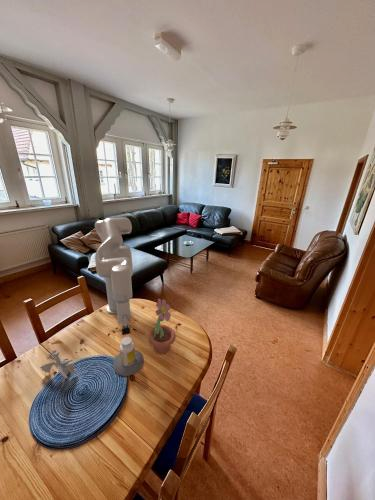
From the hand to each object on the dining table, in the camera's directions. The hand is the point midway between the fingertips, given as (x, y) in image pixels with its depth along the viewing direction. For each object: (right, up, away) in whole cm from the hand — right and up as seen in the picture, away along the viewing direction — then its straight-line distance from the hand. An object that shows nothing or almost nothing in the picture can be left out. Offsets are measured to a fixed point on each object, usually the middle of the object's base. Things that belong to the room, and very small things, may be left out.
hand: (125, 325), depth 91 cm
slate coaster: (-1, -21, +8) cm, 22 cm away
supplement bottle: (-1, -20, +8) cm, 22 cm away
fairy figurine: (-28, -23, +1) cm, 36 cm away
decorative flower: (+14, -18, +16) cm, 28 cm away
